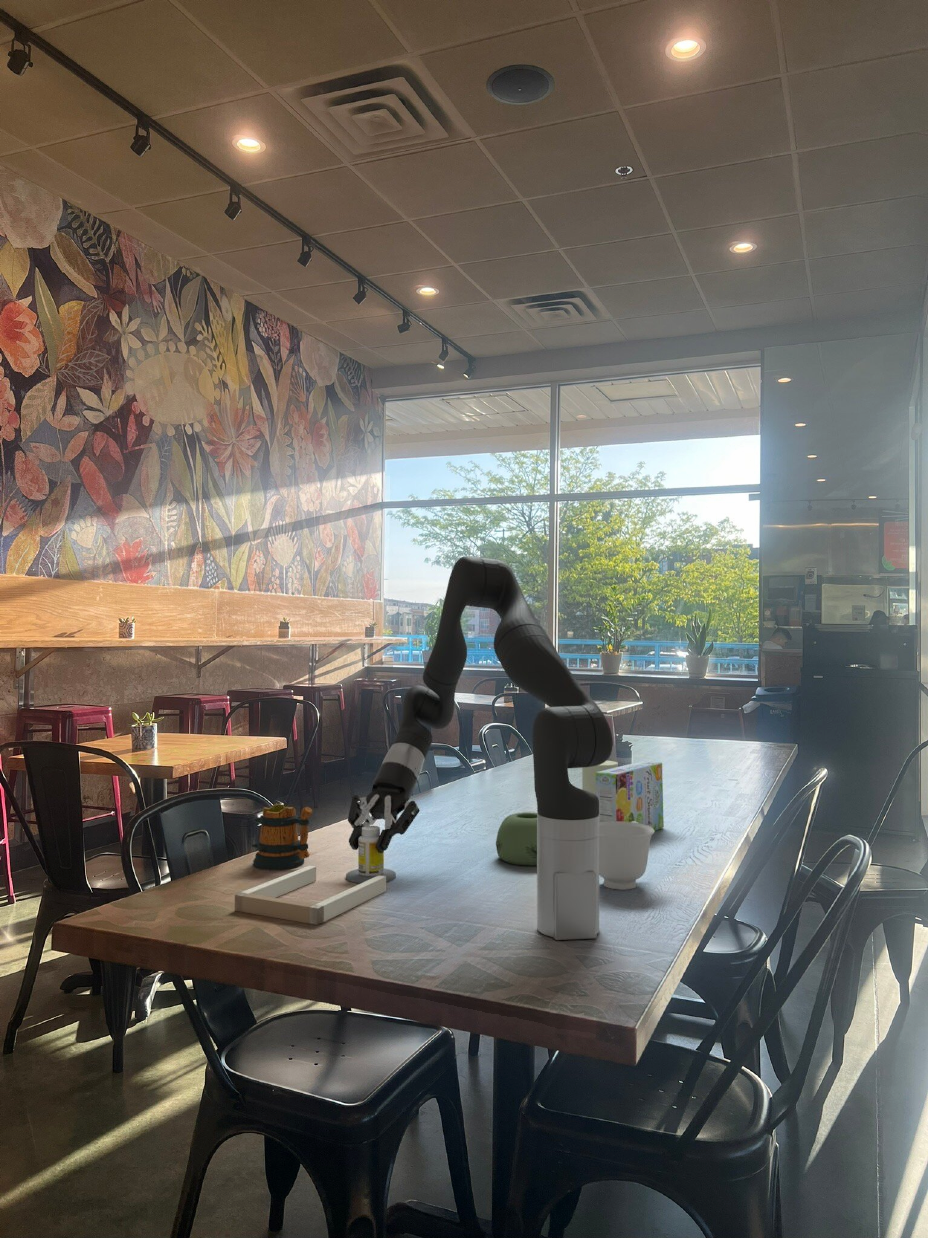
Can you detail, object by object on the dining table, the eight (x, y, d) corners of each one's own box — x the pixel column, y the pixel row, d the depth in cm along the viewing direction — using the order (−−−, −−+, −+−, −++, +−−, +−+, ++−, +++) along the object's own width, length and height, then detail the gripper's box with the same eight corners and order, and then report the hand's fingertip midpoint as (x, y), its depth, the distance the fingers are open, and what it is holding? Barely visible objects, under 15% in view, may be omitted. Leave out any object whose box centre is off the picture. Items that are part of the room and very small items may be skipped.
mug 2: (543, 871, 166) (543, 825, 166) (483, 862, 173) (483, 817, 173) (578, 854, 180) (578, 810, 180) (521, 845, 187) (521, 804, 187)
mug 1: (240, 866, 169) (240, 805, 170) (277, 854, 178) (277, 796, 178) (292, 875, 163) (293, 812, 163) (328, 863, 172) (328, 803, 172)
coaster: (397, 883, 158) (397, 880, 158) (346, 885, 157) (346, 882, 157) (394, 869, 167) (394, 867, 167) (345, 871, 166) (345, 868, 166)
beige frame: (309, 879, 160) (309, 865, 160) (386, 891, 153) (386, 876, 153) (234, 910, 142) (234, 894, 142) (317, 925, 135) (318, 908, 135)
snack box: (642, 825, 207) (642, 760, 207) (664, 828, 203) (664, 762, 204) (594, 841, 190) (594, 770, 191) (617, 845, 187) (617, 773, 187)
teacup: (669, 878, 162) (669, 822, 162) (641, 899, 149) (641, 839, 149) (606, 869, 168) (606, 815, 168) (574, 888, 155) (574, 830, 155)
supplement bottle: (387, 871, 164) (387, 825, 164) (378, 878, 159) (378, 830, 159) (364, 870, 165) (364, 824, 165) (354, 876, 161) (354, 829, 161)
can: (574, 806, 229) (574, 759, 229) (604, 803, 233) (604, 757, 233) (594, 813, 221) (594, 764, 221) (625, 810, 225) (625, 762, 225)
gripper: (360, 758, 172) (324, 833, 161) (425, 762, 166) (392, 841, 155) (374, 781, 177) (340, 856, 166) (439, 787, 171) (407, 865, 160)
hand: (366, 848), depth 160 cm, fingers open, 5 cm apart
